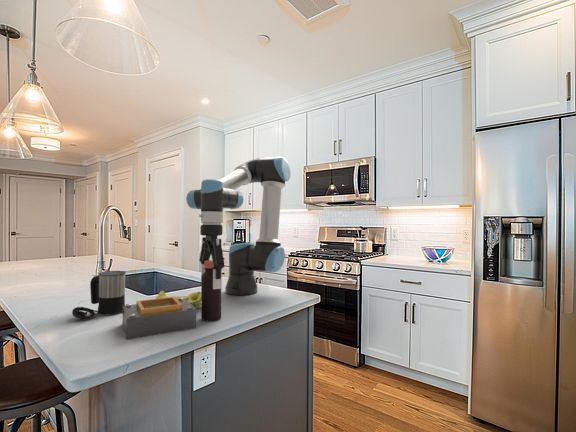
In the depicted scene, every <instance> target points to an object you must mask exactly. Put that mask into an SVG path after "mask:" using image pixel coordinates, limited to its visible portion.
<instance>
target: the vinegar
mask: <svg viewBox="0 0 576 432" xmlns="http://www.w3.org/2000/svg"><path fill="white" fill-rule="evenodd" d="M213 267H214V265H213V260H212V259H209V260H207V261H204V269H205V272H204V273H203V275H202V276H201V275H200V276H201V277H200V278H201V279H200V282H201V286H200V287H201V291H200V292H201V306H200V307H201V308H200V309H201V310H200V311H201V313H200V314H201V320H202V321H203V322H204V321H205V322H215V321H218V320H219V321H220V319H221V318H222V289H213V269H212V268H213Z"/></svg>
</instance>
